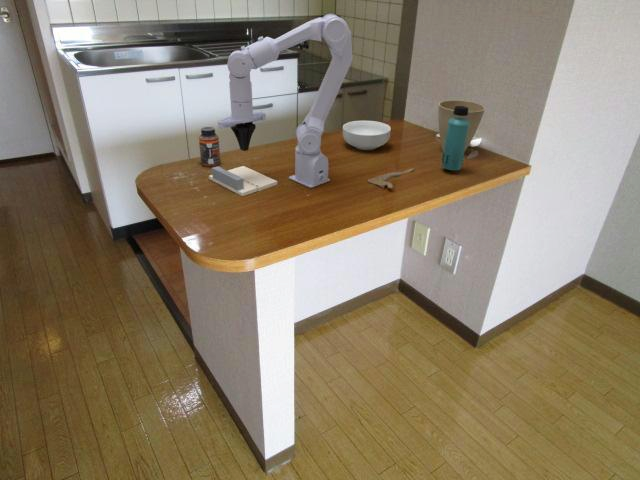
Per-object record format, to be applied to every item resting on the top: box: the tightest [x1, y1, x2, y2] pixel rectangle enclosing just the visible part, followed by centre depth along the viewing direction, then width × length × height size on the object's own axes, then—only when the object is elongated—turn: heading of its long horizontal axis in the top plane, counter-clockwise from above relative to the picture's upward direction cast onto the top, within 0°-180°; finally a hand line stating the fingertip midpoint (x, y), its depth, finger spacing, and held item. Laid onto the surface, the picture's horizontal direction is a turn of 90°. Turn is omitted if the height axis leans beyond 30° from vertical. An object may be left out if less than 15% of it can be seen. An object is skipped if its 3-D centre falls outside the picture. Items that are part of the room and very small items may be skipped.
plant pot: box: [437, 99, 486, 153], centre depth 155 cm, size 15×15×16 cm
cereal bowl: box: [342, 120, 392, 151], centre depth 159 cm, size 17×17×7 cm
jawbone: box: [367, 167, 415, 190], centre depth 137 cm, size 9×20×2 cm, turn 151°
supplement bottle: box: [198, 126, 221, 168], centre depth 140 cm, size 6×6×11 cm
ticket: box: [227, 165, 278, 192], centre depth 133 cm, size 16×7×1 cm, turn 45°
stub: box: [208, 165, 258, 197], centre depth 128 cm, size 16×5×4 cm, turn 45°
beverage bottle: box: [440, 106, 470, 171], centre depth 138 cm, size 6×7×20 cm
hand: (244, 149), depth 127 cm, fingers closed
